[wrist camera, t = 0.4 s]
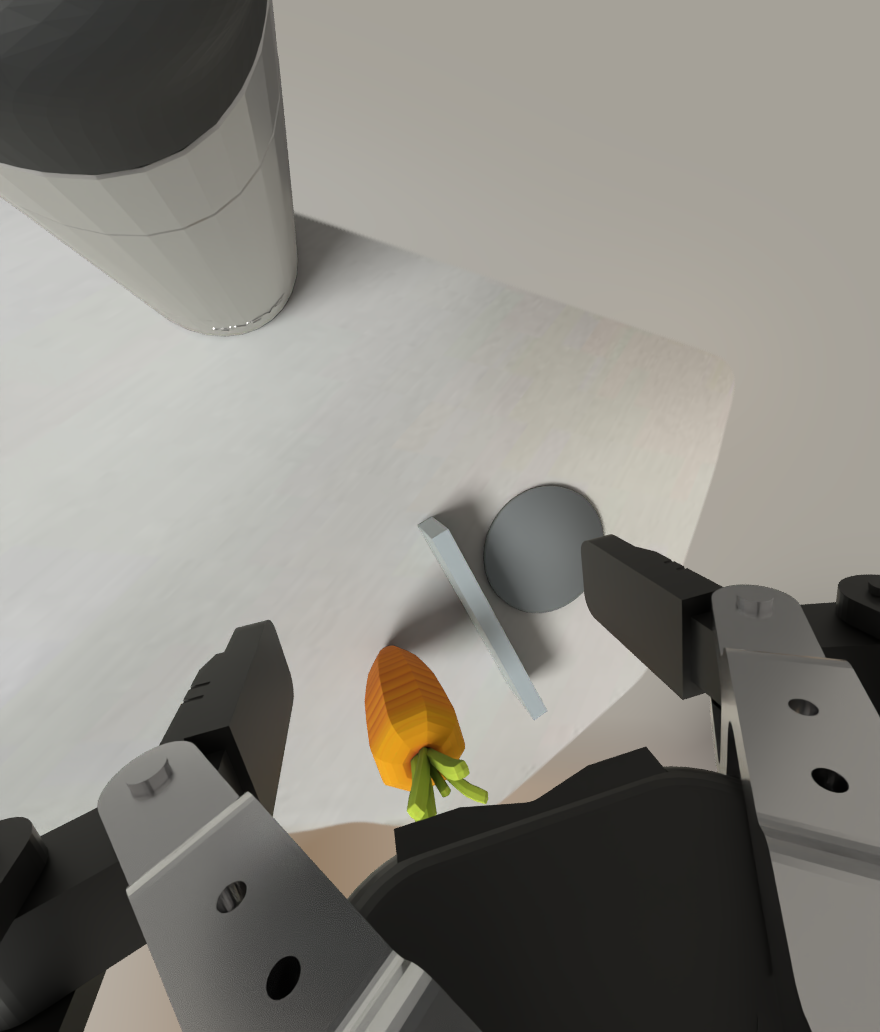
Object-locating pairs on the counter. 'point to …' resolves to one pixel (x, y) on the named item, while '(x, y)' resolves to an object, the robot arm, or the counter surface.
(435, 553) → the low wall
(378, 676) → the carrot
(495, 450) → the counter surface
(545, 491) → the rest mat
